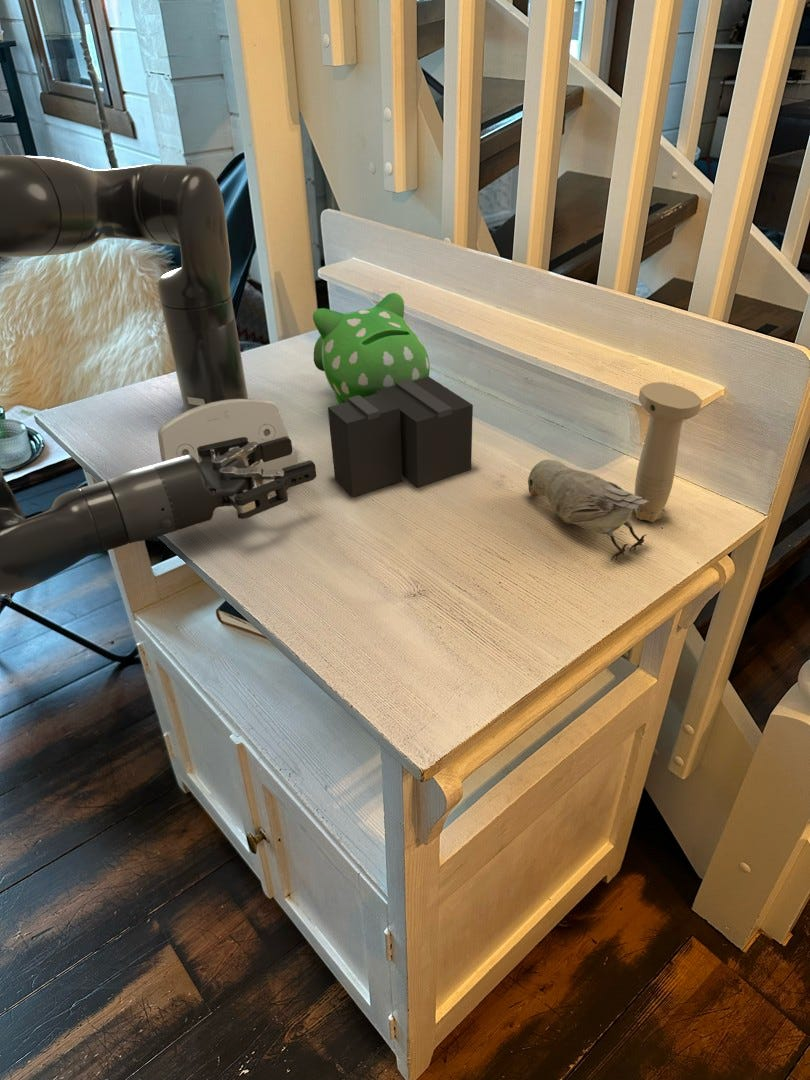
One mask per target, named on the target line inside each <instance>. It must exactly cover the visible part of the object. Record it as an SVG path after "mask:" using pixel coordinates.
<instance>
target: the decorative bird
mask: <svg viewBox="0 0 810 1080" xmlns="http://www.w3.org/2000/svg"><path fill="white" fill-rule="evenodd" d="M527 485H528V486H527V487H528V491H529V494H530V495H531V497H539V496H542V497H544V498H545V499H547V501H548V503H549V504H550V506H551V507H552V508H553V509H554V510H555V512H556V513H557V515H558V517H559V518H560V519H561V520H562V521H563V523H567V524H574V525H575V526H579V527H581V528H583V529H586V530H588V531H592V532H595V533H597V534H601V535H607V536H608V537H609V538H610V540H611V542H612V544H613V545H614V546H615V548H616V549H617V550H618V552H616V553H615V554H613V555H612V557H611V558H610V562H612V561H613V559H614V558H615V560H616V561H618V558H619V556H622V555H623V556H625V552H626V550H627V549H626V547H627V546H628V545H629V543H626V544H624V545H622V547H621V546H620V545H619V544H618V543H617V542H616V539H615V536H614V533H613V532H615V531H617V530H618V529H620V527H622V526H623V525H624V526H625V527H627V528H628V529H629V532H630V534H631V535H632V537H633V538H634V539H635V540H636V541H637V542H635V543H633V545H631V547H630V548H629V553H630V552H631V550H632V549H633V551H636V548H637V547H638V546H641V547H643V543H645V539H644V538H645V537H646V536H647V534H644V535H641V537H640V538H639V537H638V536H637V535H636V534H635V532H634V529H633V526H632V524H631V521H630V520H629V518H630V516H631V515H632V513H633V510H634V509H637V507H638V506H639V505H643V506H644V505H645V504H644V503H646V502H649V501H647V500H643V499H640V498H642V497H639V496H636V495H635V492H634V493H633V492H630V491H627V490H624V489H623V488H622V487H621V486H619V485H618V484H616V483H614V482H611V481H608V480H606V479H604V478H602V477H600V476H597V475H596V474H593V473H590V472H587V471H582V470H578V469H573V468H571V467H569V466H567V465H566V464H565V463H562V462H560V461H558V460H556V459H542V460H540V461H539V462H538V463H537V464H535V465H534V466H533V467H532V469H531V470H530V472H529V475H528V478H527Z"/></svg>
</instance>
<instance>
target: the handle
mask: <svg viewBox="0 0 810 1080" xmlns="http://www.w3.org/2000/svg"><path fill="white" fill-rule="evenodd" d="M638 393H639V394H638V401H639V403H640V405H641V406H642V408H643V409H644V410H645V411H646V412H647V413H648V414H649V418H648V423H647V428H646V433H645V437H644V441H643V445H642V449H641V453H640V458H639V461H638V465H637V470H636V475H635V482H634V495H636V496H639V497H642V498H640V499H643V500H647V501H649V502H646V503H644V504H645V505H644V506H643V505H639V506H638V507H637V509H633V512H634V513H635V517H636V518H637V519H638V520H644V521H647V522H650V523H653V522H655V521H657V520H660V519H662V518H663V515H664V513H665V511H666V509H665V507H666V505H667V503H668V500H669V498H670V494H671V492H672V487H673V484H674V479H675V474H676V466H677V459H678V452H679V445H680V437H681V432H682V431H681V430H682V425H683V422H684V420H688V419H691V418H693V417H695V416H697V415H698V414H699V413H700V411H701V407H702V402H703V400H702V398H701V397H700V396H699V395H698V394H696V393H695V392H694V391H692V390H690V389H687V388H685V387H684V386H681V385H676V384H673V383H670V382H669V383H668V382H663V381H658V382H650V383H646V384H645V385H643V386H641V387H640V389H639V392H638Z"/></svg>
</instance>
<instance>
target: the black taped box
mask: <svg viewBox="0 0 810 1080" xmlns="http://www.w3.org/2000/svg"><path fill="white" fill-rule="evenodd" d="M377 393H380V394H381V395H383V396H384V397H385V398H387V399H388V400H389V401H391V402H392V403H394V404H395V405H396V406H398V407H399V408H400V427H401V454H402V476H403V477H404V478H405V479H407V480H408V481H409V482H410V483H411V484H413V485H414V486H415V487H416V488H421V487H423V486H426V485H429V484H432V483H436V482H438V481H441V480H443V479H446V478H449V477H452V476H456V475H459V474H461V473H465V472H467V471H470V470H472V453H473V451H472V448H473V416H474V415H473V413H474V411H473V410H474V405H473V404H472V403H470V402H469V401H468V400H466V399H464V398H463V397H461V396H460V395H459V394H457V393H455V392H453V391H452V390H450V389H449V388H447V387H446V386H444V385H443V384H441V383H440V382H438V381H436V380H435V379H433V378H432V377H431V376H429V377H425V378H422V379H418V380H414V381H411V380H409V379H407V380H403V381H400V382H396V383H395V386H393V387H389V388H385V389H382V390H378V391H375V394H377Z"/></svg>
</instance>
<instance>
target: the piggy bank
mask: <svg viewBox="0 0 810 1080" xmlns="http://www.w3.org/2000/svg"><path fill="white" fill-rule="evenodd" d="M404 314H405V301H404V299H403V297H402V295H400V294H399V293H396V292H391V293H388V294H386V295H385V296H384V297H383V298H382V299H381V300H379V302H377V303H376V304H375V305H374V306H373V307H368V308H364V309H359V310H355V311H351V312H346V313H343V312H339V311H336V310H332V309H329V308H324V307H322V308H317V309H316V310H314V311H313V313H312V321H313V324H314V326H315V327H316V330H317V331H318V334H319V337H318V338H317V340H316V341H315V344H314V347H313V362H314V365H315V367H316V368H317V369H318V370H319V371H321V372H324V374H325V377H326V380H327V383H328V385H329V387H330V388H331V390H332V391H333V392H334V395H335V398H336V402H337V405H338V404H341V403H345V402H348V398H351V397H355V396H358V395H360V396H361V397H362V398H363V397H367V396H370V395H374V394H375V391H378V390H382V389H385V388H389V387H393V386H395V383H396V382H400V381H403V380H407V379H409V380H411V381H414V380H418V379H422V378H425V377H430V370H431V369H430V367H431V366H430V363H431V362H430V358H429V355H428V352H427V349H426V347H425V346H424V344H423V342H422V341H421V339H420V338H419V337H418V336H417V335H416V334H415V332H414V331H413V330H412V329H411V327H410V326H409V324H407V322H406V321H405V319H404Z"/></svg>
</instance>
